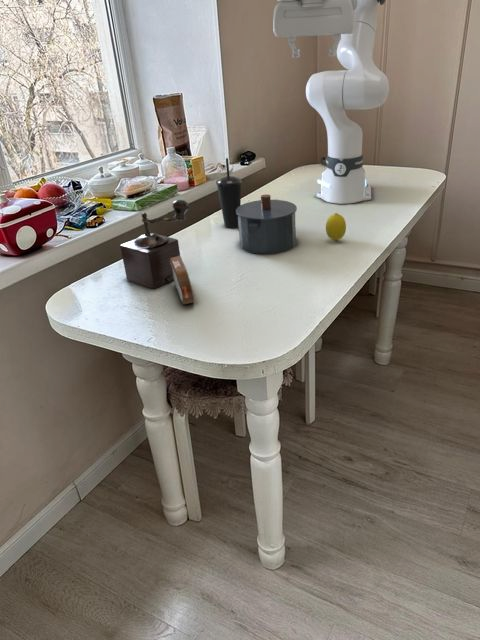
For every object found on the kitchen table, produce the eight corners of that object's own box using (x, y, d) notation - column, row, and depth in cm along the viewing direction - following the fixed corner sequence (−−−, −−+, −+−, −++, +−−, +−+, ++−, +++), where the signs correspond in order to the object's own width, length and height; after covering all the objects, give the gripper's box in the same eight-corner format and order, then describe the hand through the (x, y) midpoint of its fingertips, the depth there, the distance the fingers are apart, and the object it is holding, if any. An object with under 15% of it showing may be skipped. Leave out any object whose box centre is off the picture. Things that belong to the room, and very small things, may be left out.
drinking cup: (230, 220, 170) (224, 154, 159) (249, 223, 166) (245, 156, 155) (215, 227, 165) (208, 160, 154) (234, 231, 161) (229, 162, 150)
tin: (196, 308, 119) (191, 274, 115) (182, 311, 119) (177, 276, 114) (185, 282, 132) (180, 249, 127) (172, 284, 131) (167, 251, 127)
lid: (226, 220, 142) (224, 203, 140) (249, 201, 155) (248, 185, 153) (285, 224, 137) (285, 207, 134) (304, 205, 150) (304, 188, 148)
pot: (227, 255, 145) (224, 221, 140) (255, 229, 162) (253, 197, 157) (282, 260, 140) (281, 225, 135) (305, 232, 157) (304, 200, 152)
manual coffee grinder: (155, 290, 128) (142, 217, 119) (125, 280, 134) (111, 209, 125) (200, 268, 139) (191, 198, 129) (170, 259, 145) (160, 192, 135)
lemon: (344, 245, 147) (345, 216, 143) (324, 244, 148) (324, 216, 144) (346, 237, 152) (347, 210, 147) (326, 237, 153) (327, 209, 148)
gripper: (360, -13, 126) (357, 54, 133) (278, -7, 133) (280, 57, 140) (354, -14, 121) (352, 56, 128) (269, -7, 128) (272, 58, 135)
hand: (314, 56), depth 134 cm, fingers open, 8 cm apart
